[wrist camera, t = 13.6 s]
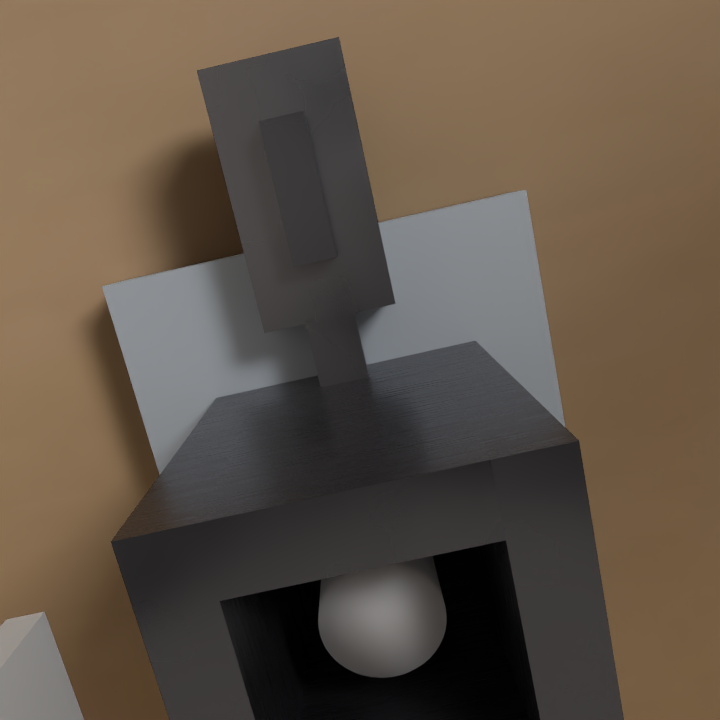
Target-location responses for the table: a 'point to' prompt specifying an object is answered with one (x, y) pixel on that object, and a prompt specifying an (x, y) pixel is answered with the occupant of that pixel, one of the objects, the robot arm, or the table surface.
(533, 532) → the grey square socket
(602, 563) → the table surface
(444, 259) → the keeper
